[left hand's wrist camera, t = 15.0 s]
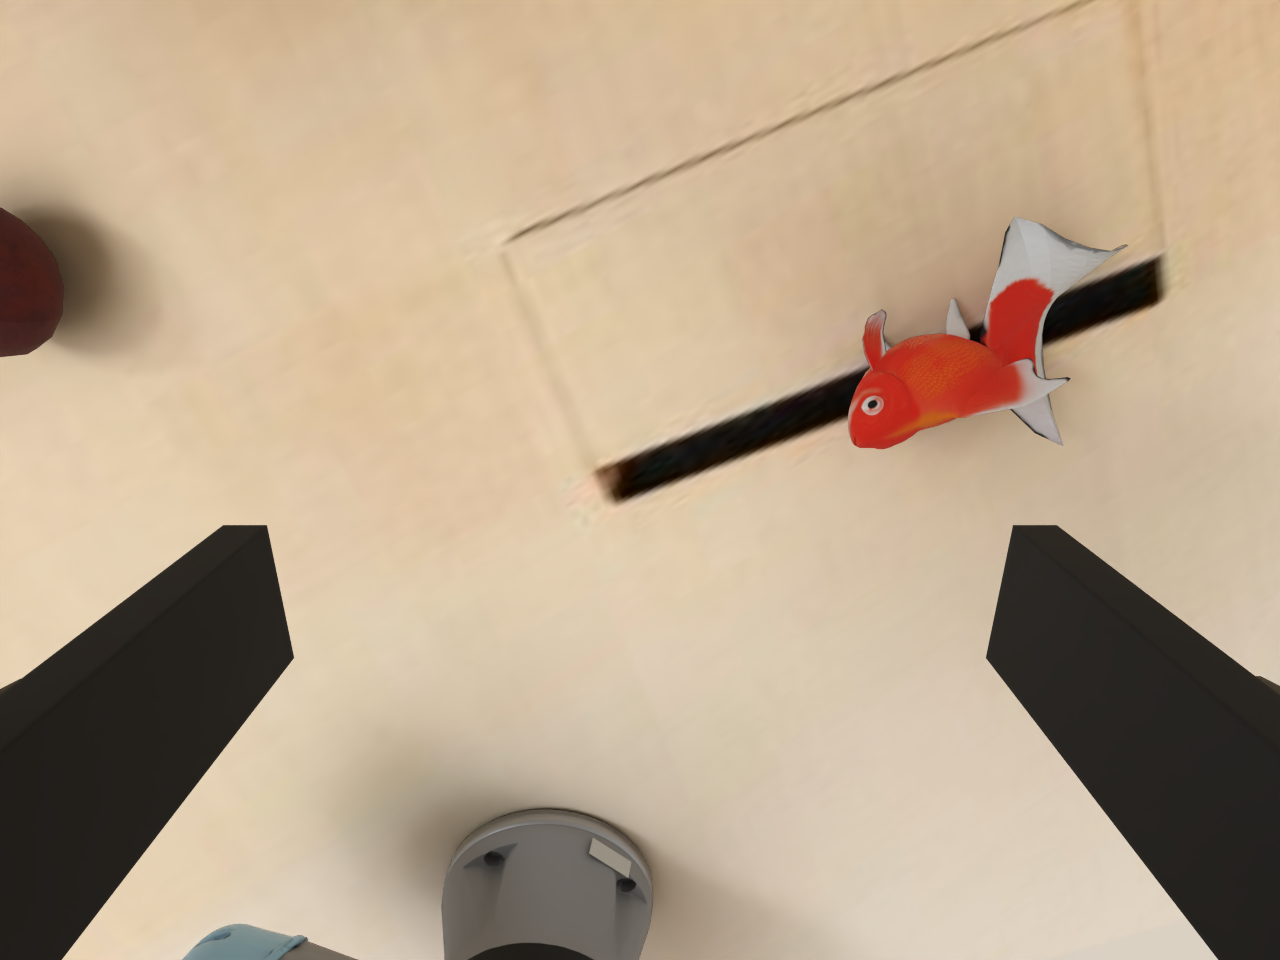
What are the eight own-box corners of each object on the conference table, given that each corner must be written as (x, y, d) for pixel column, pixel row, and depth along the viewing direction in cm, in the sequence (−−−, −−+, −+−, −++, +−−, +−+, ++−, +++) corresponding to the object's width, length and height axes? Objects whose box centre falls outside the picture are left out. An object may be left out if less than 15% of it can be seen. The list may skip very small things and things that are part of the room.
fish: (788, 250, 32) (966, 326, 25) (1027, 158, 37) (1234, 200, 30) (789, 438, 39) (930, 540, 32) (991, 340, 44) (1153, 410, 37)
